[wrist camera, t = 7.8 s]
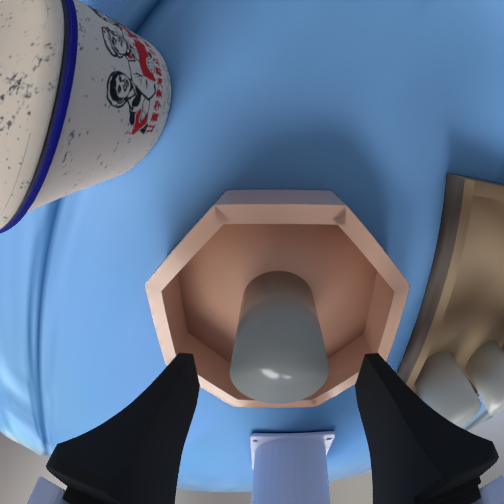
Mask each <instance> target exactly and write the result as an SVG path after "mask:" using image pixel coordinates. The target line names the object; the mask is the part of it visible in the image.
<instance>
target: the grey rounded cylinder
mask: <svg viewBox="0 0 504 504" xmlns="http://www.w3.org/2000/svg"><path fill="white" fill-rule="evenodd" d="M328 374H329V364H328V360H327V355H326V350H325V345H324V341H323V336H322V332H321V327H320V323H319V318H318V314H317V310H316V305H315V301H314V297H313V293H312V290H311V288H310V286H309V285H308V284H307V282H306V281H305V280H304V279H302V278H301V277H299V276H298V275H296V274H293V273H290V272H286V271H271V272H267V273H264V274H261V275H259V276H257V277H256V278H254V279H253V280H252V281H251V282H250V283H249V284H248V285H247V287H246V289H245V290H244V293H243V297H242V303H241V308H240V314H239V320H238V326H237V331H236V337H235V343H234V349H233V354H232V360H231V366H230V377H231V380H232V383H233V384H234V386H235V387H236V388H237V389H238V390H239V391H240V392H241V393H242V394H244V395H245V396H247V397H249V398H251V399H254V400H257V401H260V402H264V403H272V404H284V403H291V402H295V401H299V400H302V399H304V398H307V397H309V396H311V395H312V394H314V393H315V392H316V391H318V390H319V389H320V388H321V387H322V386H323V384H324V383H325V381H326V380H327V377H328Z"/></svg>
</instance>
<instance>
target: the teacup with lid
mask: <svg viewBox="0 0 504 504" xmlns="http://www.w3.org/2000/svg"><path fill="white" fill-rule="evenodd" d="M170 102H171V81H170V75H169V71H168V68H167V65H166V63H165V61H164V59H163V57H162V56H161V54H160V53H159V52H158V50H157V49H156V48H155V47H154V46H153V45H152V44H150V43H149V42H148V41H146V40H145V39H143V38H142V37H140V36H139V35H137V34H135V33H134V32H132V31H131V30H129V29H128V28H126V27H124V26H123V25H121V24H119V23H118V22H116V21H114V20H113V19H111V18H109V17H108V16H106V15H104V14H102V13H101V12H99V11H97V10H95V9H93V8H92V7H90V6H88V5H86V4H84V3H82V2H80V1H78V0H0V233H3V232H5V231H7V230H9V229H10V228H12V227H13V226H15V225H16V224H17V223H18V222H19V221H20V220H21V219H22V218H23V216H24V215H25V214H26V213H27V212H29V211H32V210H34V209H36V208H38V207H41V206H43V205H45V204H47V203H50V202H52V201H54V200H57V199H59V198H62V197H64V196H67V195H69V194H72V193H74V192H77V191H79V190H82V189H85V188H87V187H90V186H93V185H95V184H98V183H101V182H104V181H107V180H110V179H112V178H115V177H118V176H120V175H122V174H124V173H126V172H127V171H129V170H131V169H132V168H133V167H135V166H136V165H137V164H138V163H139V162H141V161H142V160H143V158H144V157H145V156H146V155H147V154H148V153H149V152H150V150H151V149H152V148H153V146H154V145H155V143H156V142H157V140H158V138H159V136H160V134H161V132H162V130H163V128H164V125H165V123H166V120H167V116H168V113H169V108H170Z"/></svg>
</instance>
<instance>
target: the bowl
mask: <svg viewBox="0 0 504 504" xmlns="http://www.w3.org/2000/svg"><path fill="white" fill-rule="evenodd" d="M271 271H286V272H290V273H293V274H296V275H298V276H299V277H301V278H302V279H304V280H305V281H306V282H307V284H308V285H309V286H310V288H311V290H312V293H313V297H314V301H315V305H316V310H317V314H318V318H319V323H320V327H321V332H322V336H323V341H324V345H325V350H326V355H327V360H328V364H329V374H328V377H327V380H326V381H325V383H324V384H323V386H322V387H321V388H320V389H319V390H318V391H316V392H315V393H314V394H312V395H311V396H309V397H307V398H304V399H302V400H299V401H295V402H291V403H284V404H272V403H264V402H260V401H257V400H254V399H251V398H249V397H247V396H245V395H244V394H242V393H241V392H240V391H239V390H238V389H237V388H236V387H235V386H234V384H233V383H232V380H231V377H230V366H231V360H232V354H233V349H234V343H235V337H236V331H237V326H238V320H239V314H240V308H241V303H242V297H243V293H244V290H245V289H246V287H247V285H248V284H249V283H250V282H251V281H252V280H253V279H254V278H256V277H257V276H259V275H261V274H264V273H267V272H271ZM409 287H410V285H409V283H408V282H407V280H406V279H405V278H404V276H403V275H402V273H401V272H400V271H399V269H398V268H397V267H396V265H395V264H394V263H393V261H392V260H391V259H390V258H389V256H388V255H387V254H386V252H385V251H384V250H383V249H382V247H381V246H380V245H379V243H378V242H377V241H376V240H375V238H374V237H373V236H372V235H371V234H370V232H369V231H368V230H367V229H366V227H365V226H364V225H363V224H362V223H361V221H360V220H359V219H358V218H357V217H356V216H355V214H354V213H353V212H352V211H351V210H350V209H349V207H348V206H347V205H346V204H345V203H344V202H343V201H341V200H340V199H339V198H338V197H337V196H336V195H335V194H334V193H333V192H332V191H331V190H288V189H257V190H226V191H225V192H224V193H223V194H222V195H221V196H220V198H219V199H218V200H217V201H216V202H215V203H214V204H213V205H212V206H211V207H210V208H209V209H208V210H207V212H206V213H205V214H204V215H203V216H202V217H201V218H200V219H199V220H198V222H197V223H196V224H195V225H194V226H193V227H192V228H191V229H190V230H189V232H188V233H187V234H186V235H185V236H184V237H183V238H182V240H181V241H180V242H179V243H178V244H177V245H176V246H175V248H174V249H173V250H172V251H171V252H170V253H169V255H168V256H167V257H166V258H165V259H164V261H163V262H162V263H161V264H160V266H159V267H158V268H157V269H156V271H155V272H154V273H153V275H152V276H151V277H150V278H149V280H148V281H147V282H146V284H145V288H146V292H147V297H148V301H149V305H150V309H151V313H152V317H153V321H154V325H155V329H156V333H157V336H158V340H159V344H160V347H161V351H162V354H163V357H164V361H165V363H166V364H167V365H169V364H170V362H171V361H172V360H173V359H174V358H175V357H176V355H177V354H178V353H189V354H193V356H194V361H195V365H196V370H197V374H198V379H199V383H200V387H202V388H203V389H205V390H206V391H208V392H210V393H211V394H213V395H215V396H216V397H218V398H220V399H221V400H223V401H225V402H227V403H228V404H230V405H232V406H235V407H259V408H296V407H316V406H318V405H320V404H322V403H324V402H325V401H327V400H329V399H331V398H332V397H334V396H336V395H338V394H339V393H341V392H343V391H344V390H346V389H348V388H349V387H351V386H353V385H354V384H356V381H357V378H358V375H359V371H360V368H361V365H362V362H363V359H364V355H365V354H370V353H379V355H380V356H381V357H382V358H383V359H384V360H385V361H387V359H388V356H389V353H390V350H391V348H392V345H393V342H394V339H395V336H396V333H397V330H398V326H399V323H400V320H401V317H402V313H403V310H404V306H405V302H406V299H407V295H408V291H409Z"/></svg>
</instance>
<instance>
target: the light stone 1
mask: <svg viewBox="0 0 504 504" xmlns="http://www.w3.org/2000/svg"><path fill="white" fill-rule="evenodd" d="M414 386H415V388H416V390H417V393H418V395H419V397H420V398H421V399H422V400H423V401H424V402H425V403H426V404H427V405H429V406H430V407H431V408H432V409H434V410H435V411H436V412H437V413H439V414H440V415H442V416H443V417H444V418H446V419H447V420H449V421H451V422H452V423H454V424H455V425H457V426H459V427H460V428H461V427H462V426H464V425H465V424H466V423H468V422H469V421H470V420H471V419H472V418H473V417H474V416H475V415H476V414H477V413H478V411H479V410H480V408H481V402H480V400H479V398H478V396H477V395H476V393H475V391H474V389H473V387H472V386H471V384H470V382H469V380H468V379H467V377H466V375H465V374H464V372H463V370H462V369H461V367H460V365H459V364H458V362H457V360H456V359H455V357H454V355H453V354H452V353H451V352H448V351H443V352H439V353H436V354H434V355H432V356H431V357H429V358H428V359H426V361H425V363H424V365H423V367H422V369H421V371H420V373H419V375H418V377H417V379H416V381H415V383H414Z"/></svg>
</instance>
